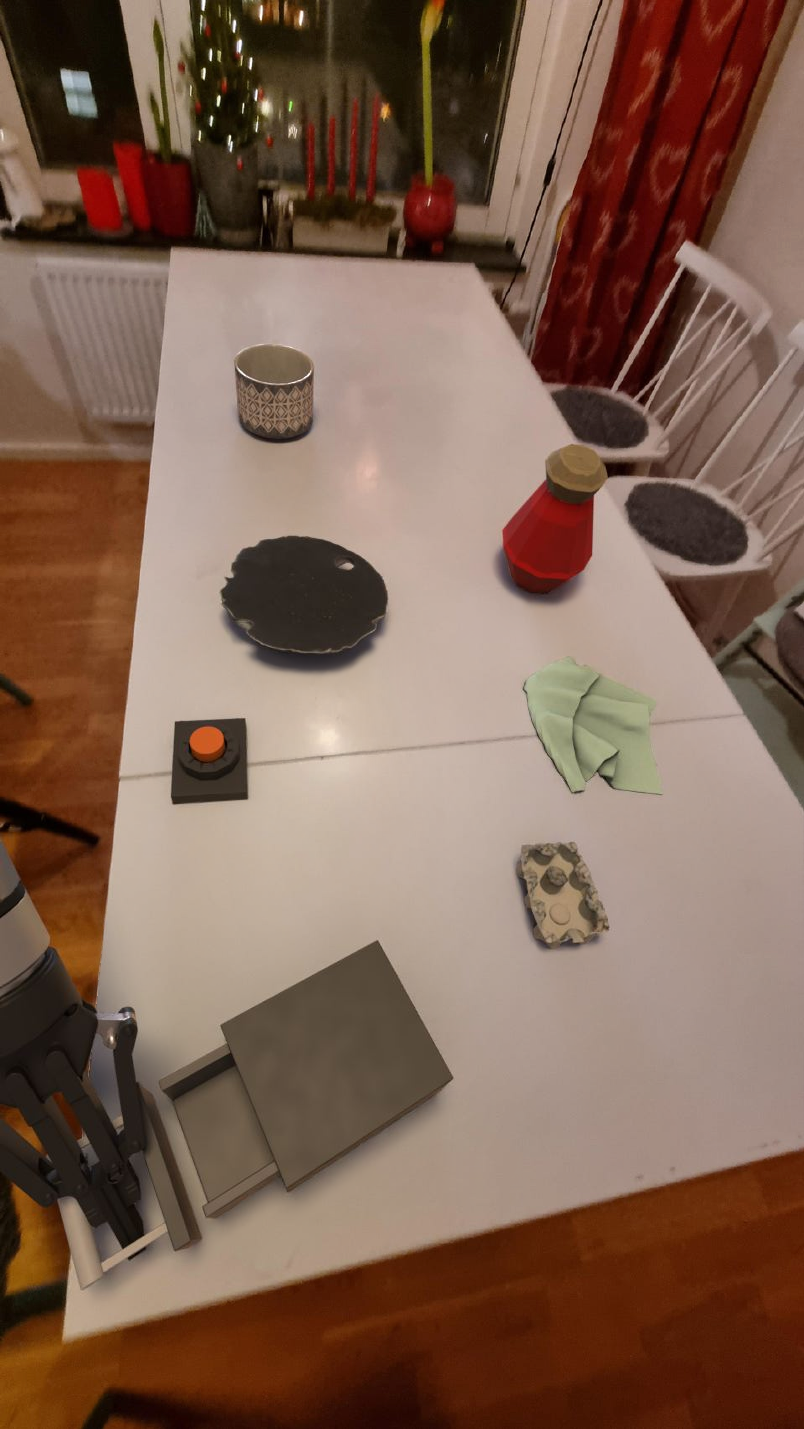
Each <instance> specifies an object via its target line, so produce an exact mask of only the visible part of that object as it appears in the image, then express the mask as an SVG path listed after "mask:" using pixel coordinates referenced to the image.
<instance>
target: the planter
mask: <svg viewBox="0 0 804 1429" xmlns="http://www.w3.org/2000/svg"><path fill="white" fill-rule="evenodd" d="M233 364H234V379H235V389H236V390H235V392H236V403H237V404H236V405H237V417H238V419H239V422H240V424H241V425H242V427H243V428H244V429H246V430H247V431H248V432H250V433H252V434H254V435H257V436H260V437H263V438H267V439H274V440H275V439H276V440H277V439H279V440H280V439H281V440H283V439H289V438H295V437H298V436H300V435H302V434H304V433H306V432H307V431H308V430H309V429H310V428H311V426H312V424H313V421H314V384H315V383H314V376H315V375H314V374H315V365H314V362H313V359H311V357H309V356H308V354H306V353H304V352H303V351H301V350H299V349H298V348H294V347H291V346H288V345H285V344H277V343H262V344H261V343H260V344H255V345H252V346H249V347H245V348H243V349H242V350H241V351H239V352H237V354H236V356H235V357H234V361H233Z"/></svg>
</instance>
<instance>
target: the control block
mask: <svg viewBox="0 0 804 1429" xmlns="http://www.w3.org/2000/svg"><path fill="white" fill-rule="evenodd" d="M202 727H214V728H217V729H218V730H220V731H221V733H222V734H223V737H224V743H225V751H224V753H223V755H222V756H221V757H220V758H219V759H217V760H215V761H212V762H202V761H199V760H198V759H196V758H195V757H194V756H193V754H192V750H191V746H190V737H191V735H192V734H193V733H194V732H195V731H196V730H197V729H199V728H202ZM173 728H174V729H173V746H172V764H171V765H172V767H171V787H170V798H171V802H172V805H179V804H181V805H182V804H193V803H195V804H196V803H209V802H211V803H212V802H224V801H238V800H248V798H249V796H248V750H247V749H248V745H247V744H248V743H247V721H246V717H237V718H216V719H215V718H214V719H194V720H193V719H192V720H175V721H174V726H173Z"/></svg>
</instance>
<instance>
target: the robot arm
mask: <svg viewBox="0 0 804 1429" xmlns="http://www.w3.org/2000/svg"><path fill="white" fill-rule="evenodd" d="M50 940H51V937H50V934H49V932H48V930H47V928H46V926H45V924H44V923H43V920H42V918H41V916H40V914H39V912H38V910H37V909H36V906H35V905H34V903H33V900H32V898H31V896H30V895H29V893H28V891H27V889H26V888H25V886H24V884H23V882H22V880H21V877H20V876H19V873H18V871H17V870H16V867H15V865H14V863H13V861H12V859H11V857H10V855H9V853H8V851H7V848H6V846H5V844H4V842H3V840H2V837H0V1105H3V1106H6V1107H9V1108H14V1109H17V1110H18V1112H19V1113H20V1115H21V1117H22V1118H23V1120H24V1122H25V1124H26V1125H27V1127H29V1128H30V1127H31V1128H32V1131H33V1132H34V1133H35V1135H36V1137H37V1139H38V1140H39V1142H40V1144H41V1146H42V1148H43V1149H44V1151H45V1154H46V1155H48V1156H49V1158H50V1160H51V1161H49V1160H48V1159H47V1158H46V1155H44V1154H43V1153H42V1152H41V1151H39V1150H38V1148H36V1147H35V1146H34V1145H33V1144H32V1143H30V1141H28V1140H27V1139H26V1138H25V1137H23V1136H22V1135H21V1134H20V1133H19V1132H18V1131H17V1130H16V1129H15V1128H14V1127H12V1126H11V1125H10V1124H9V1123H8V1122H7V1121H5V1120H4V1118H2V1117H1V1116H0V1173H1V1174H2V1175H3V1176H4V1177H6V1179H7V1180H9V1181H10V1182H11V1183H13V1184H14V1185H15V1187H18V1189H19V1190H21V1191H22V1192H23V1193H25V1194H26V1195H27V1196H28V1197H29V1198H30V1199H32V1200H33V1201H34V1202H35V1203H36V1204H38V1205H39V1207H42V1208H49V1207H52V1206H54V1205H55V1204H56V1203H57V1202H58V1201H57V1200H58V1199H59V1198H62V1197H67V1196H71V1197H73V1198H75V1199H76V1200H77V1202H78V1204H79V1206H80V1208H81V1209H82V1211H83V1213H84V1214H85V1217H86V1218H87V1220H88V1222H89V1224H90V1225H91V1226H92V1228H94V1229H97V1228H99V1227H100V1226H102V1225H104V1224H105V1223H106V1222H107V1224H108V1226H109V1227H110V1230H111V1231H112V1233H113V1234H114V1237H115V1239H116V1240H117V1242H118V1245H120V1248H121V1250H122V1249H124V1248H126V1247H127V1246H129V1245H130V1244H132V1243H133V1242H135V1241H137V1240H138V1239H140V1238H141V1237H143V1236H144V1235H146V1233H145V1226H144V1220H143V1218H142V1216H141V1214H140V1213H139V1210H138V1209H137V1206H136V1205H135V1204H136V1203H137V1202H139V1201H141V1200H142V1199H141V1197H142V1196H141V1195H142V1192H141V1185H140V1178H139V1176H138V1174H137V1172H136V1170H135V1169H134V1166H133V1165H132V1163H131V1160H130V1158H131V1157H132V1156H133V1155H136V1154H139V1153H140V1152H141V1153H142V1150H143V1149H144V1147H145V1137H144V1130H143V1124H142V1117H141V1110H140V1104H139V1097H138V1090H137V1084H136V1082H137V1077H136V1072H135V1064H134V1059H133V1057H134V1056H133V1053H134V1048H135V1045H136V1041H137V1036H138V1033H139V1028H138V1022H137V1015H136V1011H135V1008H134V1007H132V1006H129V1005H127V1006H124V1007H121V1008H120V1009H119V1010H118V1012H115V1013H114V1012H98V1010H97V1008H96V1006H94V1005H93V1004H92V1003H90V1002H88V1001H86V1000H85V999H83V998H82V996H81V995H80V994H79V992H78V990H77V988H76V985H75V984H74V982H73V980H72V977H71V975H70V973H69V972H68V970H67V968H66V966H65V964H64V962H63V961H62V958H61V956H60V954H59V952H58V950H57V948H55V947H53V946H50V943H51V941H50ZM96 1035H100V1036H101V1038H102V1044H103V1046H104V1047H105V1048H107V1049H109V1050H112V1054H113V1055H112V1056H113V1066H114V1072H115V1079H116V1086H117V1092H118V1099H119V1104H120V1106H119V1107H120V1113H121V1116H122V1118H123V1125H124V1126H123V1129H122V1130H121V1131H120V1132H119V1133H118V1132H117V1130H115V1128H114V1126H113V1124H112V1120H111V1118H110V1116H109V1114H108V1112H107V1110H106V1108H105V1106H104V1104H103V1102H102V1100H101V1098H100V1096H99V1095H98V1092H97V1090H96V1089H95V1086H94V1085H93V1082H92V1080H91V1078H90V1077H89V1076H90V1075H89V1074H88V1071H87V1067H88V1064H89V1061H90V1057H91V1053H92V1049H93V1046H94V1042H95V1038H96ZM58 1093H61V1095H62V1097H63V1099H64V1101H65V1103H66V1104H67V1105H68V1106H70V1107H71V1109H72V1111H73V1113H74V1115H75V1117H76V1119H77V1121H78V1123H79V1125H80V1127H81V1129H82V1131H83V1133H84V1134H85V1136H87V1138H88V1140H89V1142H90V1146H91V1148H92V1150H93V1152H94V1154H95V1156H96V1157H97V1159H98V1161H97V1162H95V1163H94V1164H92V1165H90V1166H89V1154H88V1153H84V1151H83V1149H81V1147H80V1146H79V1144H78V1142H77V1141H78V1140H77V1139H76V1136H75V1134H74V1133H73V1131H72V1129H71V1128H70V1126H69V1124H68V1122H67V1120H66V1118H65V1117H64V1115H63V1113H62V1111H61V1108H59V1105H58V1104H57V1102H56V1100H55V1099H54V1097H53V1095H54V1094H58ZM145 1251H147V1246H145V1247H144V1248H142V1249H141V1250H139V1251H137V1252H136V1253H134V1254H133V1255H131V1256H130V1257H128V1258H127V1260H128V1262H131V1260H133V1259H134V1258H136V1257H138V1256H139V1255H140V1254H142V1253H143V1252H145Z"/></svg>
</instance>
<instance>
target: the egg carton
mask: <svg viewBox="0 0 804 1429" xmlns="http://www.w3.org/2000/svg"><path fill="white" fill-rule="evenodd" d="M578 848H579V847H578V845H577V843H576V842H575V841H570V842H567V843H566V842H565V843H563V842H560V841H559V842H555V843H554V842H551V843H550V842H547V843H540V842H539V843H535V844H522V845H521V848H520V849H521V850H520V857H521V859H520V861H519V863H518V865H517V866H516V868H515V872H516V875H517V878H520V879H523V880H525V881H526V890H527V894H526V895H525V896H524V898H523V901H524V904H525V907H526V908H528V909H531V912H532V914H533V916H534V920H535V922H536V925H535V927H534V928H533V930H532V932H533V935H534V938H535V939H537V940H540V941H542V942H544V943H545V944H546V945H547V946H548V947H549V948H554V949H556V948H557V949H558V948H559V947H560V946H561V945H562V944H563V943H564V942H567V941H569V940H571V942H572V943H578V944H580V945H583V944H584V945H586V944H588V943H590V942H591V940H593V939H594V938H595V936H596V934H602V933H607V932H609V931H610V924H609V919H608V915H607V913H606V908H605V907H604V905H603V902H602V900H601V901H600V899H599V894H598V890H597V887H595V884H594V881H593V878H592V874H591V871H590V868H589V867H588V865H587V863H586V862H585V861H584V860H583V856H582V855H581V854H580V853H579V851H578Z"/></svg>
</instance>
